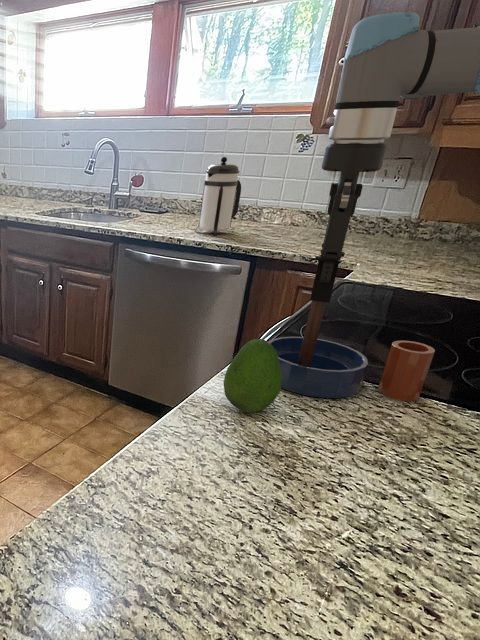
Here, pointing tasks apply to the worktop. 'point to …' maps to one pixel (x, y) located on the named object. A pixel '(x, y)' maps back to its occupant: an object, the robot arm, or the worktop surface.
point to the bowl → (320, 368)
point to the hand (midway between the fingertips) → (319, 298)
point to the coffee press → (220, 197)
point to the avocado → (253, 377)
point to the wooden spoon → (311, 333)
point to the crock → (405, 370)
